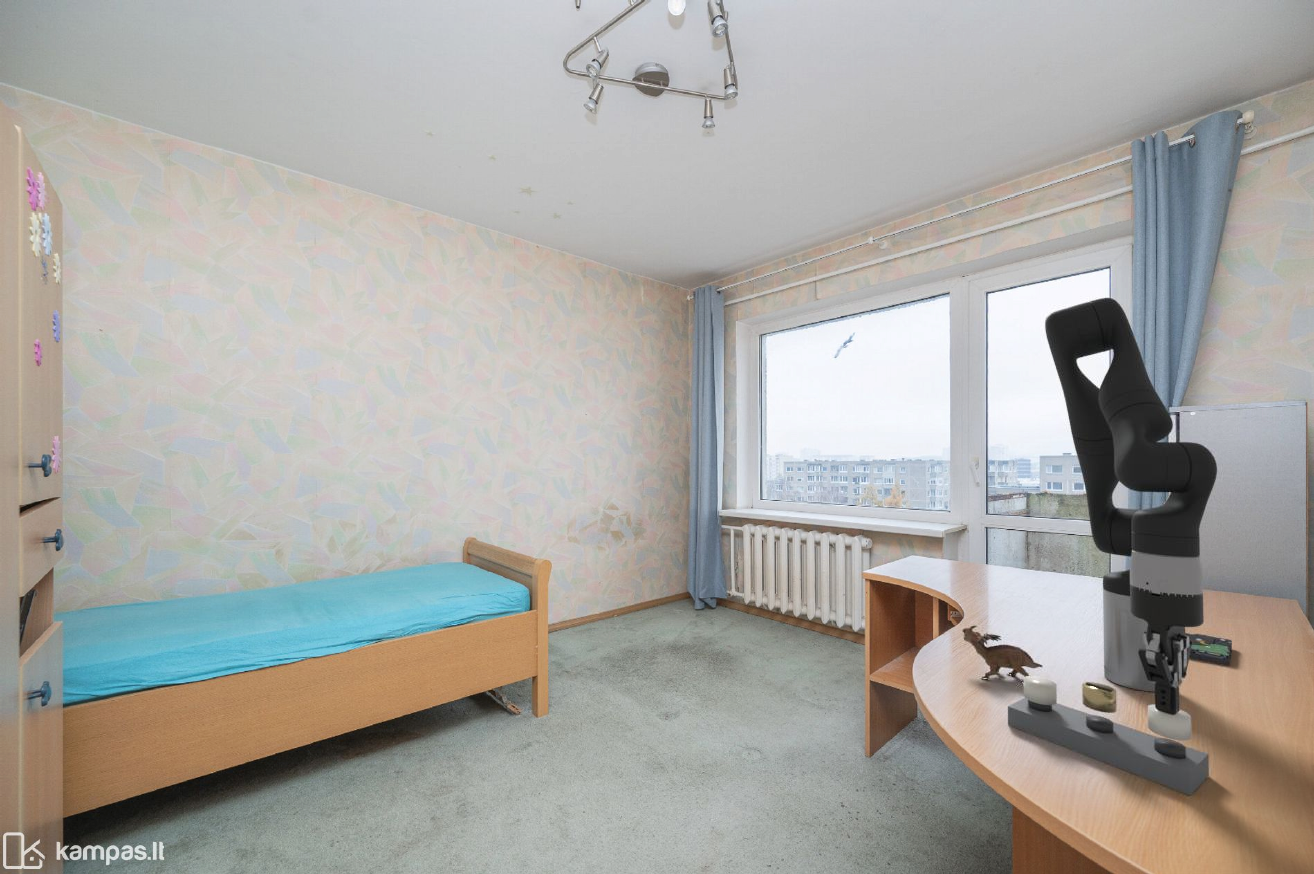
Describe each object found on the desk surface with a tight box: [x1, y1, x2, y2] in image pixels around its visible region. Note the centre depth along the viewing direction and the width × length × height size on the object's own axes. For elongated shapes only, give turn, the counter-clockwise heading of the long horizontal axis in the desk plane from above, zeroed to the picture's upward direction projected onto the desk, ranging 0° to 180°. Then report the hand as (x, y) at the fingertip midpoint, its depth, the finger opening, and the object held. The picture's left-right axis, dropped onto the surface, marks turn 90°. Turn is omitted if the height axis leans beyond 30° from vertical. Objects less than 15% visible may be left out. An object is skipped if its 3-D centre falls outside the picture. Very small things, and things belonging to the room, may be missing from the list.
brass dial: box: [1081, 681, 1118, 714], centre depth 84 cm, size 4×4×3 cm
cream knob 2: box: [1147, 703, 1192, 742], centre depth 77 cm, size 4×4×3 cm
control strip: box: [1007, 697, 1210, 796], centre depth 83 cm, size 22×8×4 cm, turn 33°
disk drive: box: [1185, 632, 1233, 667], centre depth 124 cm, size 10×3×15 cm
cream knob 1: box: [1023, 675, 1058, 705], centre depth 90 cm, size 4×4×3 cm
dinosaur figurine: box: [962, 625, 1043, 683], centre depth 109 cm, size 14×6×9 cm, turn 67°
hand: (1167, 711), depth 77 cm, fingers closed
